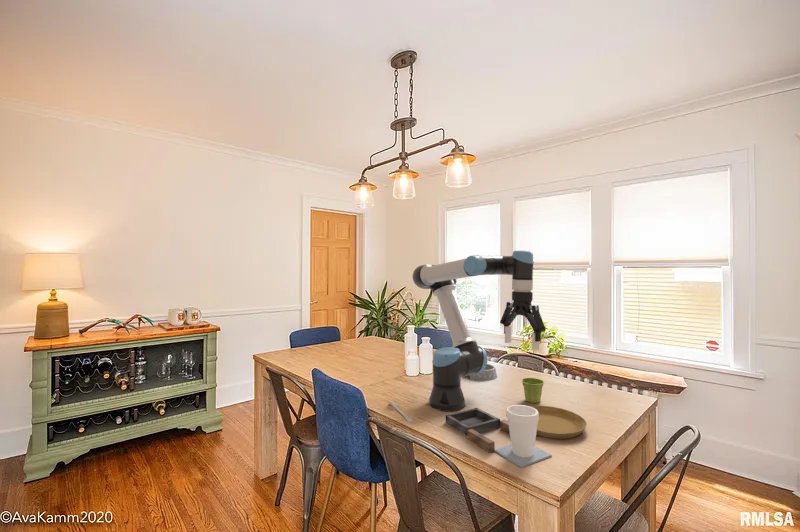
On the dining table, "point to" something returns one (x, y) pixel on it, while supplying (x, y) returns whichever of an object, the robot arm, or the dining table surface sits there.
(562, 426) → the plant saucer
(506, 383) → the dining table surface
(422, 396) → the dining table surface
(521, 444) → the foam cup
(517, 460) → the mat
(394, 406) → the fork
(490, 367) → the dog bowl
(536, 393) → the plant pot
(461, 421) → the track
